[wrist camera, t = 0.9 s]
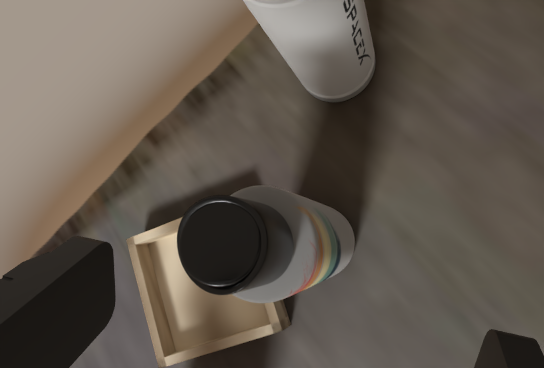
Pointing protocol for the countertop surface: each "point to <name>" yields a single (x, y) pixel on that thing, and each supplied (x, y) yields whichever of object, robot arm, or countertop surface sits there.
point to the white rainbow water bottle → (262, 243)
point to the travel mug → (321, 43)
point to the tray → (192, 304)
